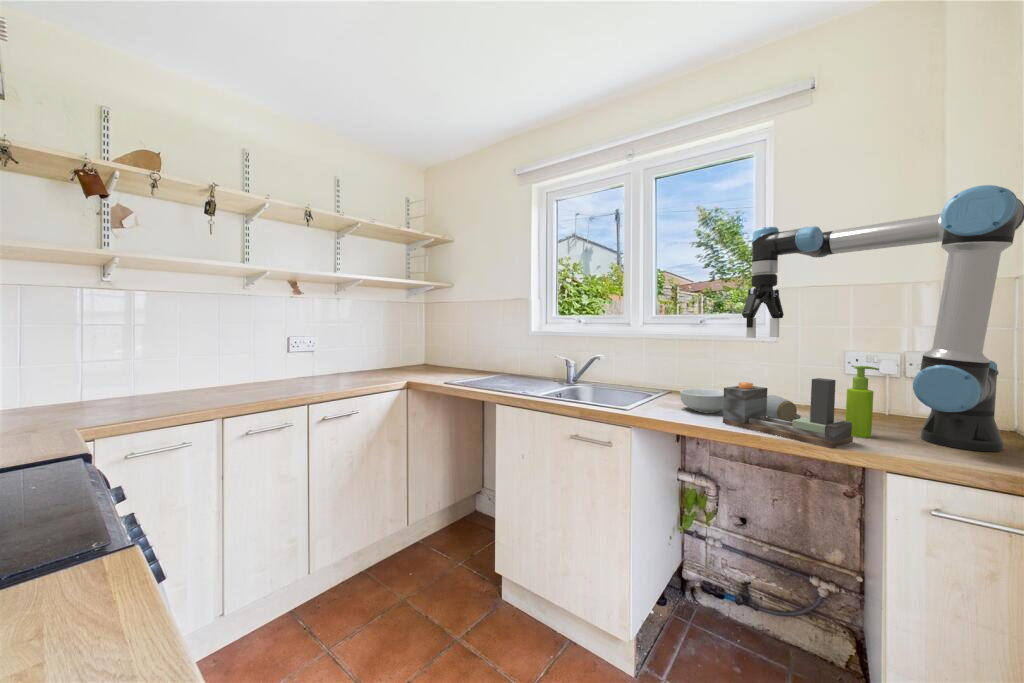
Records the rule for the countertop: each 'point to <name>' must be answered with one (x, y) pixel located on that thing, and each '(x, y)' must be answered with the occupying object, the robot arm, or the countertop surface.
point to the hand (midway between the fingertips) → (762, 337)
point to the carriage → (819, 407)
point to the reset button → (745, 385)
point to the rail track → (751, 414)
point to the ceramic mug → (781, 408)
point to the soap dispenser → (860, 404)
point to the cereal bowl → (703, 399)
